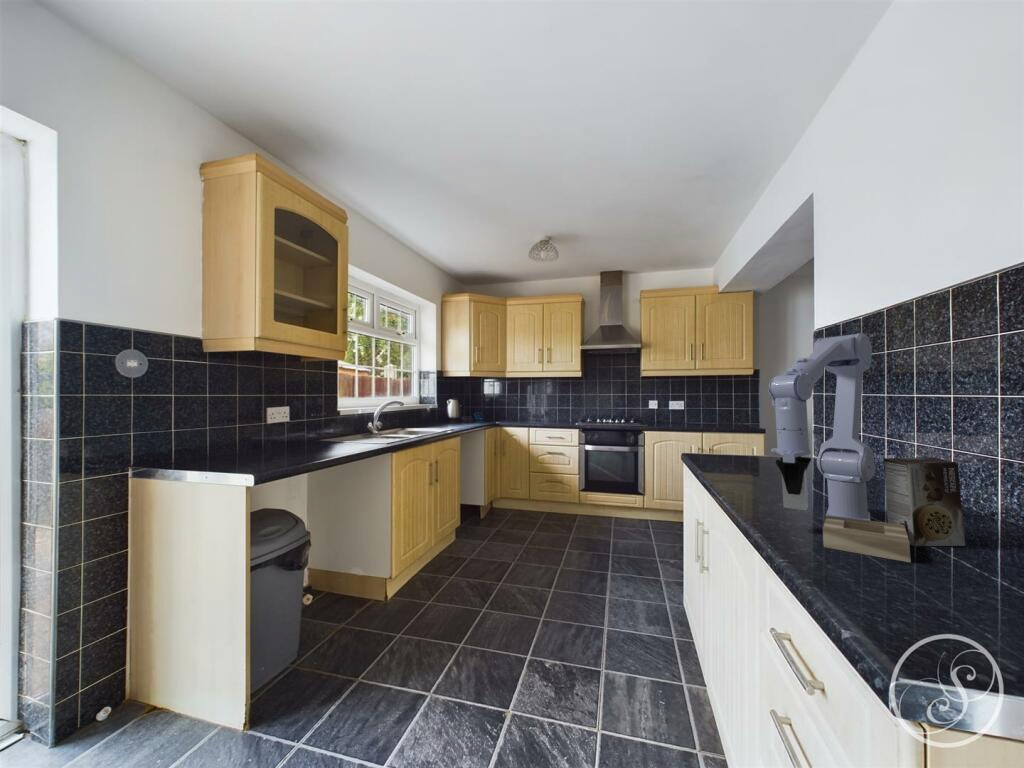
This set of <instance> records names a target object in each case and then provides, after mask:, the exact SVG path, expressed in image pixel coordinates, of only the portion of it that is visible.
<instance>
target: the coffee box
mask: <svg viewBox="0 0 1024 768" xmlns="http://www.w3.org/2000/svg"><path fill="white" fill-rule="evenodd" d="M883 471H884V483H885V484H884V485H885V486H884V487H885V499H886V501H885V502H886V513H887V515H886V516H887V523H891V524H899V525H904V526H905V529H906V533H907V536H908V539H909V544H910V546H913V547H965V546H966V541H965V540H966V539H965V531H964V519H963V504H962V494H961V483H960V473H959V462H958V461H950V460H946V459H942V458H934V457H894V458H892V457H891V458H887V457H884V458H883Z"/></svg>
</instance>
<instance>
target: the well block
mask: <svg viewBox="0 0 1024 768" xmlns="http://www.w3.org/2000/svg"><path fill="white" fill-rule="evenodd" d="M822 541H823V542H822V543H823V548H825V549H826V548H827V549H832V550H838V551H844V552H848V553H849V552H850V553H855V554H860V555H866V556H871V557H878V558H883V559H884V558H885V559H888V560H894V561H901V562H906V563H912V562H911V561H912V559H911V550H910V549H911V547H910V546H911V544H909V539H908V536H907V533H906V529H905V526H904V525H899V524H891V523H888V522H881V521H875V520H870V521H869V520H861V519H854V518H846V517H839V516H831V515H827V516H826V515H825V520H824V524H823V526H822Z"/></svg>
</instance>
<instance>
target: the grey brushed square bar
mask: <svg viewBox="0 0 1024 768" xmlns="http://www.w3.org/2000/svg"><path fill="white" fill-rule="evenodd" d="M781 485H782V503H783V508H786V509H793V510H794V509H795V510H801V511H808V508H809V497H808V496H809V495H808V481H807V470H806V469H805V471H804V475H803V480H802V488H801V493H800V495H795V494H788V492H787V489H786V486H785V482H784V478H783V475H782V474H781Z"/></svg>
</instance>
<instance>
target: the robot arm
mask: <svg viewBox="0 0 1024 768" xmlns="http://www.w3.org/2000/svg"><path fill="white" fill-rule="evenodd" d="M872 351H873V346H872V342H871V340H870V338H869V336H868V335H866V334H865V333H864V332H857V333H855V334H847V335H837V336H833V337H832V336H830V337H819V338H818V339H817V340H816V341H815V342H813V351H812V353H811V354H810V355H809V356H808V357H801V358H800V357H799V358H798V359H797V360H796V361H795V363H794V364H793V365H792V366H791V367H789V369H787V370H786V371H785V372H784V373H783V374H782V375H775V377H773V378H772V379H771V380H770V381H769V383H768V388H767V392H768V395H769V398H770V400H771V405H772V408H773V409H775V427H776V429H775V430H776V445H777V447H774V448H770V451H771V453H777V454H778V455H781V456H782V457H780V458H779V459H776V460H775V464H776V466H777V467H778V469H779V472H780V473H781V476H782V475H783V478H784V482H785V486H786V489H787V492H788V494H795V495H800V493H801V488H802V480H803V475H804V471H805V469H806V471H807V470H808V467H809V465H810V463H811V461H812V458H811V457H808V456H809V455H811V449H810V442H809V441H810V440H809V423H808V422H809V421H808V409H807V408H808V406H807V403H808V402H807V401H808V400H809V399H811V397H812V394H813V389H814V388H815V383H817V382H819V381H818V380H820V379H821V378H822V377H823V375H824V369H825V371H826V372H829V373H831V374H834V375H835V376H836V384H835V385H836V387H835V402H834V412H833V413H834V415H833V426H832V427H833V430H832V437H831V438H830V439H828V440H826V441H824V442H823V443H821V444H820V447H819V448H820V449H819V452H818V455H817V458H816V466H817V469H818V471H819V472H820V474H821V475H823V478H824V479H826V481H827V482H826V483H827V498H828V499H827V500H828V508H827V511H826V513H825V517H826V516H827V515H831V516H839V517H846V518H854V519H861V520H869V521H871V512H870V511H868V500H867V499H868V496H867V482H869V481H870V480H871V479H872V478H874V477H875V476H874V475H875V473H876V462H875V458H874V451H873V449H872V448H871V447H870V446H869V445H867V444H866V443H864V442H862V441H861V440H860V427H861V425H860V424H861V412H862V411H861V410H862V409H861V408H862V407H861V406H862V393H863V392H862V391H863V379H864V372H865V373H866V371H868V370H869V369H871V364H872V356H873V354H872V353H873V352H872ZM806 456H807V457H806Z"/></svg>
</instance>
